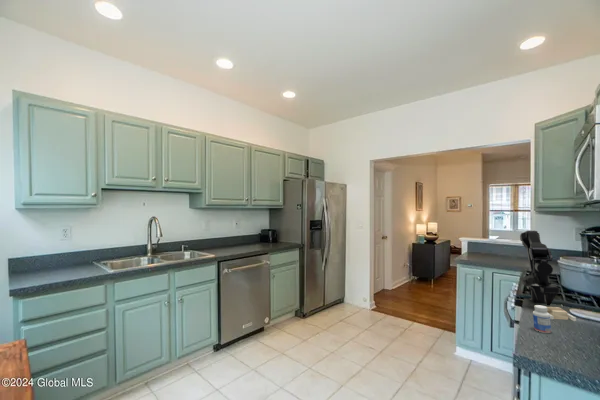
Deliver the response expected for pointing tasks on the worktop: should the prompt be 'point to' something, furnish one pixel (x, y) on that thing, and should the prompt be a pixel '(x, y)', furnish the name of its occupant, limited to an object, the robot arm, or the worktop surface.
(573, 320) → the channel
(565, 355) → the worktop surface
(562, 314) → the birch block
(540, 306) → the pill bottle
